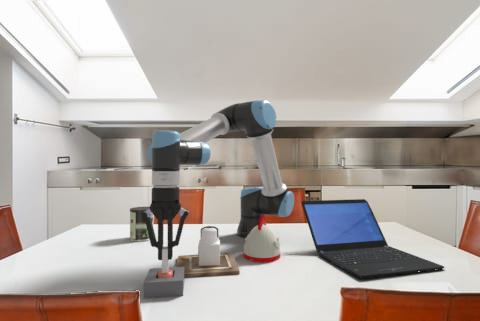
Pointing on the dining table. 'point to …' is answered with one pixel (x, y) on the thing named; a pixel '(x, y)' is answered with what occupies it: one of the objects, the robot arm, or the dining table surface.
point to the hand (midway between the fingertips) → (165, 271)
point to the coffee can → (138, 224)
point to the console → (164, 283)
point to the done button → (165, 274)
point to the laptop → (357, 240)
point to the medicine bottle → (209, 247)
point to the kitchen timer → (261, 244)
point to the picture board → (194, 270)
